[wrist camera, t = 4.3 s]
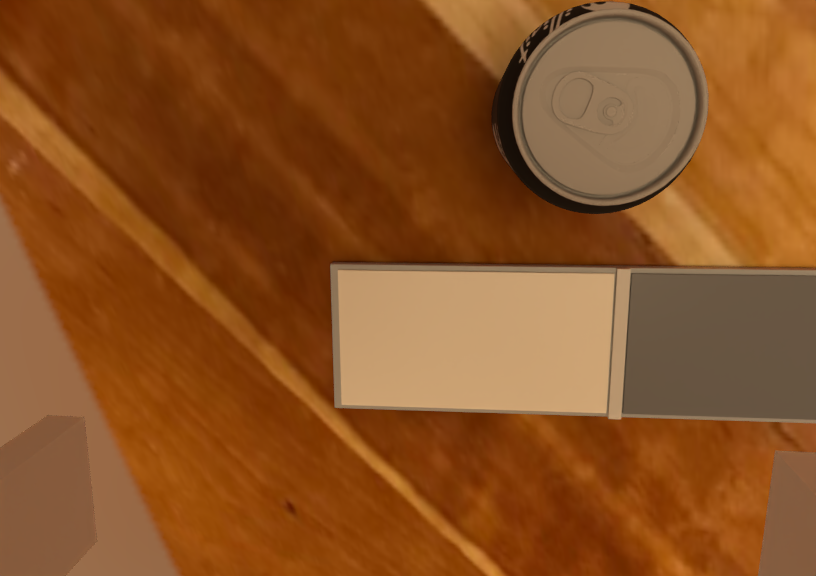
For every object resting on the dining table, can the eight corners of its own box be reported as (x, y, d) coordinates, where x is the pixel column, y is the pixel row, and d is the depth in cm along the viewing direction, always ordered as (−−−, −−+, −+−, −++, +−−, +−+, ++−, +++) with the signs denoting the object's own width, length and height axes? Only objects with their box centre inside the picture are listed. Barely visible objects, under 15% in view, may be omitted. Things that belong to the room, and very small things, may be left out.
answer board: (332, 262, 35) (328, 265, 34) (931, 269, 33) (944, 273, 32) (337, 403, 37) (333, 410, 36) (907, 421, 34) (918, 429, 33)
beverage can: (600, 207, 33) (665, 251, 22) (470, 158, 34) (465, 175, 22) (660, 70, 32) (764, 39, 20) (523, 19, 32) (549, -42, 20)
